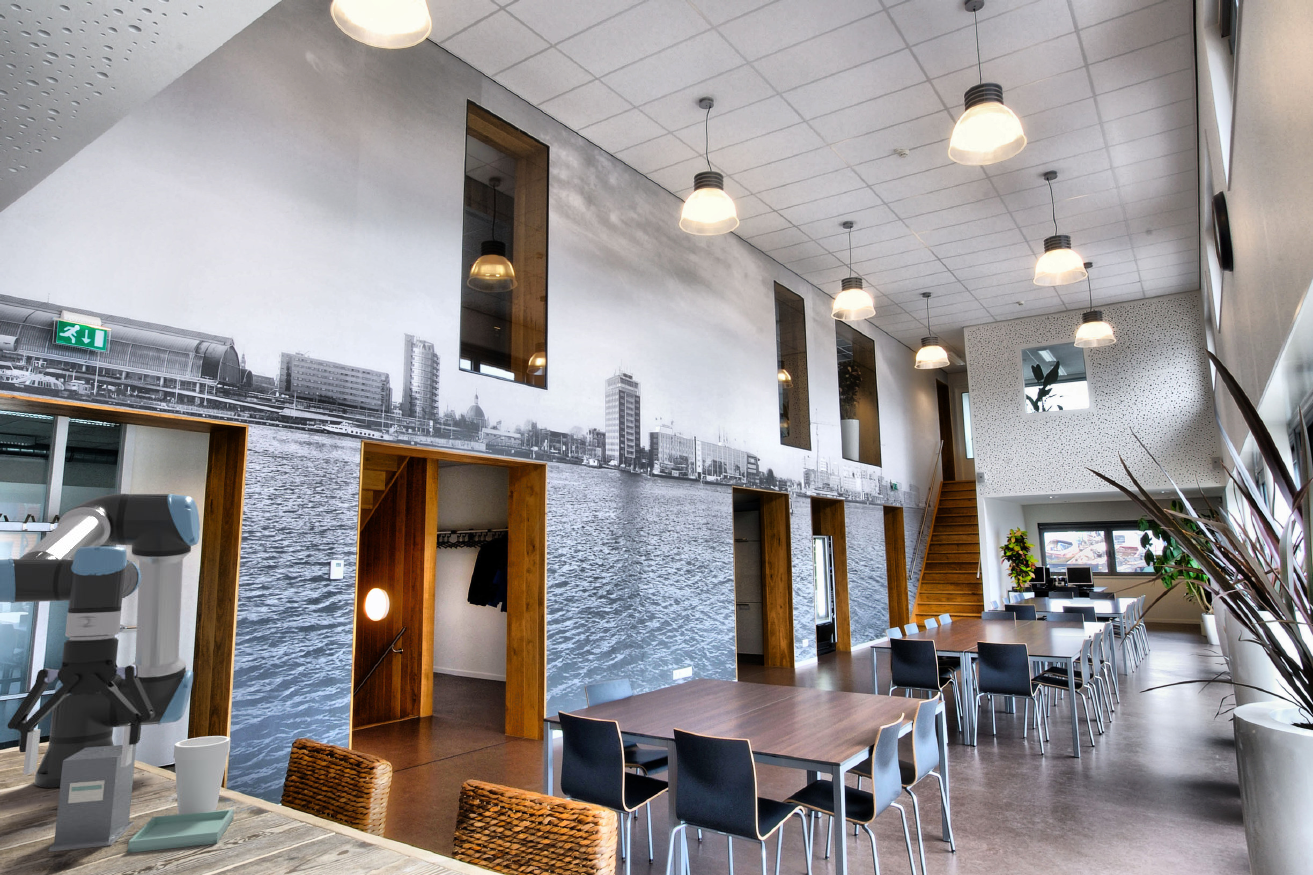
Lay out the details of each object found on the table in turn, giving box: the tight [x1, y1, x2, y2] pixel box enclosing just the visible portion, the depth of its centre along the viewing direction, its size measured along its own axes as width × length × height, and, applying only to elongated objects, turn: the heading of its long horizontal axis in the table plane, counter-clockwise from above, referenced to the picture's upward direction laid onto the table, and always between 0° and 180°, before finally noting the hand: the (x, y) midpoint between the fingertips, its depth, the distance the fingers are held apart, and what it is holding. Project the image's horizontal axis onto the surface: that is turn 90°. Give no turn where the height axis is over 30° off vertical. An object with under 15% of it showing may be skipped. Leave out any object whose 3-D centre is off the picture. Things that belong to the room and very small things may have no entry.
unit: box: [48, 744, 137, 853], centre depth 136 cm, size 11×9×14 cm
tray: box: [127, 808, 235, 854], centre depth 136 cm, size 13×13×2 cm
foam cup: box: [173, 735, 231, 815], centre depth 150 cm, size 10×9×13 cm
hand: (78, 768), depth 128 cm, fingers open, 13 cm apart
